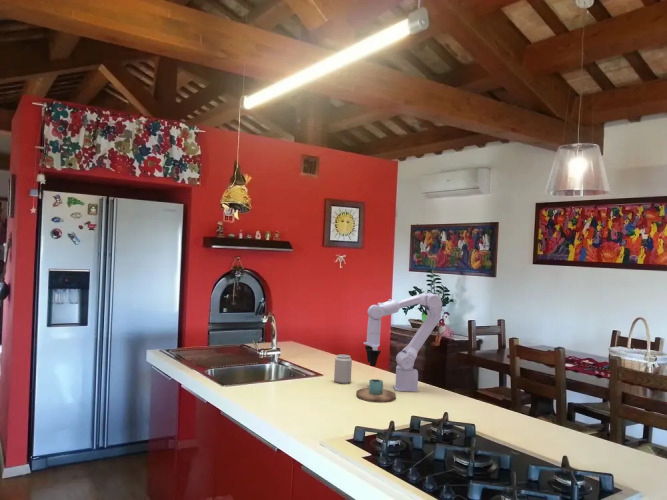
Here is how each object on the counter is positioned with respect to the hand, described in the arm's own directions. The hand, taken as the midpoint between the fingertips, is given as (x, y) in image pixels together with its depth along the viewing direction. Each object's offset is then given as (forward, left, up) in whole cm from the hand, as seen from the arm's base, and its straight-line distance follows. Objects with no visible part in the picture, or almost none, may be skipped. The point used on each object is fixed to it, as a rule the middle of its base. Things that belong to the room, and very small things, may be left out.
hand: (371, 364), depth 231 cm
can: (+11, -9, -11) cm, 18 cm away
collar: (0, +14, -9) cm, 16 cm away
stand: (-1, +14, -10) cm, 17 cm away
